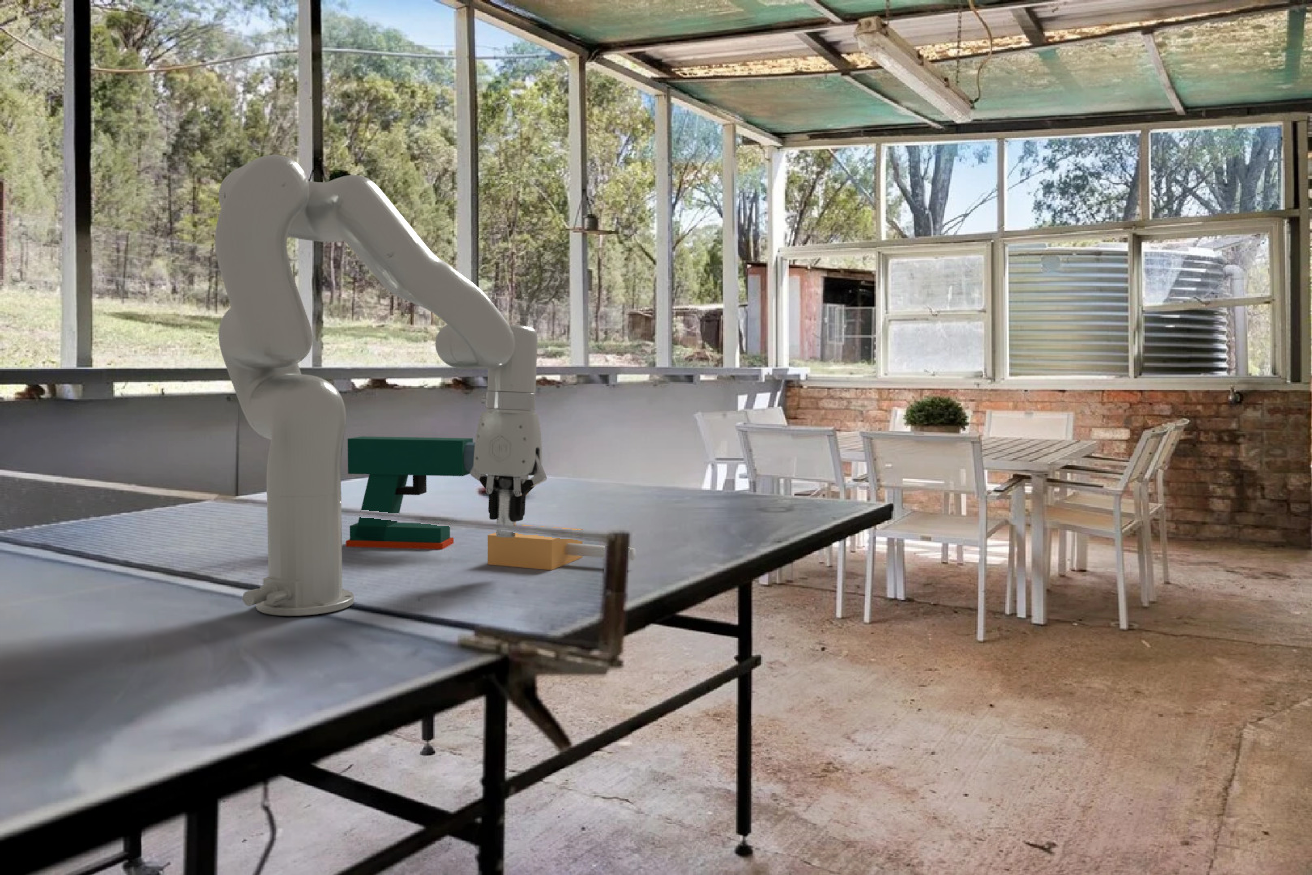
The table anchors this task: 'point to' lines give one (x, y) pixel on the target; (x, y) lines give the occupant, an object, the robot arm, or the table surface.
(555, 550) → the chuck block
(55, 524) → the table surface
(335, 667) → the table surface
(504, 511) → the silver capped bar
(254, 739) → the table surface
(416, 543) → the power tool
